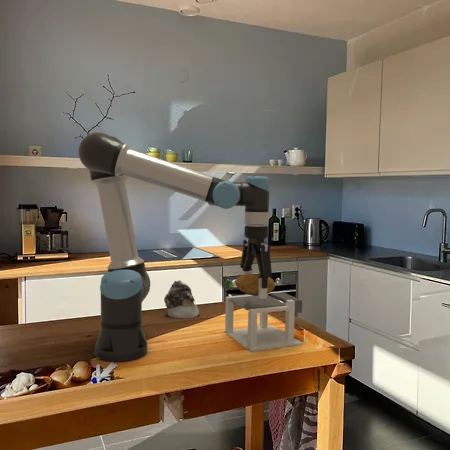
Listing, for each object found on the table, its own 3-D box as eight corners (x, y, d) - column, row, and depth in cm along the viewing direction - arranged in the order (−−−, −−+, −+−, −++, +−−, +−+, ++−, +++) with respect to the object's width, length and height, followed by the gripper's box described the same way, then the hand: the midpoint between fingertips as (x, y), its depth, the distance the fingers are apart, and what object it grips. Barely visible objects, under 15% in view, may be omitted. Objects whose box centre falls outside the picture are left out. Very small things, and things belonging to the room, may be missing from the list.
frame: (251, 351, 142) (252, 305, 141) (224, 332, 161) (225, 291, 159) (302, 344, 149) (304, 300, 148) (271, 326, 168) (272, 287, 167)
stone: (203, 316, 184) (204, 287, 176) (189, 332, 177) (189, 302, 169) (174, 303, 190) (173, 274, 182) (159, 318, 183) (157, 289, 174)
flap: (247, 319, 144) (248, 306, 144) (228, 308, 157) (228, 296, 157) (304, 313, 152) (304, 301, 152) (281, 303, 165) (281, 291, 165)
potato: (275, 299, 148) (276, 277, 147) (234, 298, 148) (235, 276, 148) (273, 292, 157) (274, 271, 156) (235, 291, 157) (235, 270, 157)
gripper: (285, 228, 142) (283, 301, 144) (251, 222, 162) (249, 286, 164) (262, 228, 139) (260, 303, 141) (231, 222, 159) (229, 288, 161)
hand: (254, 294), depth 153 cm, fingers closed on potato, 10 cm apart
